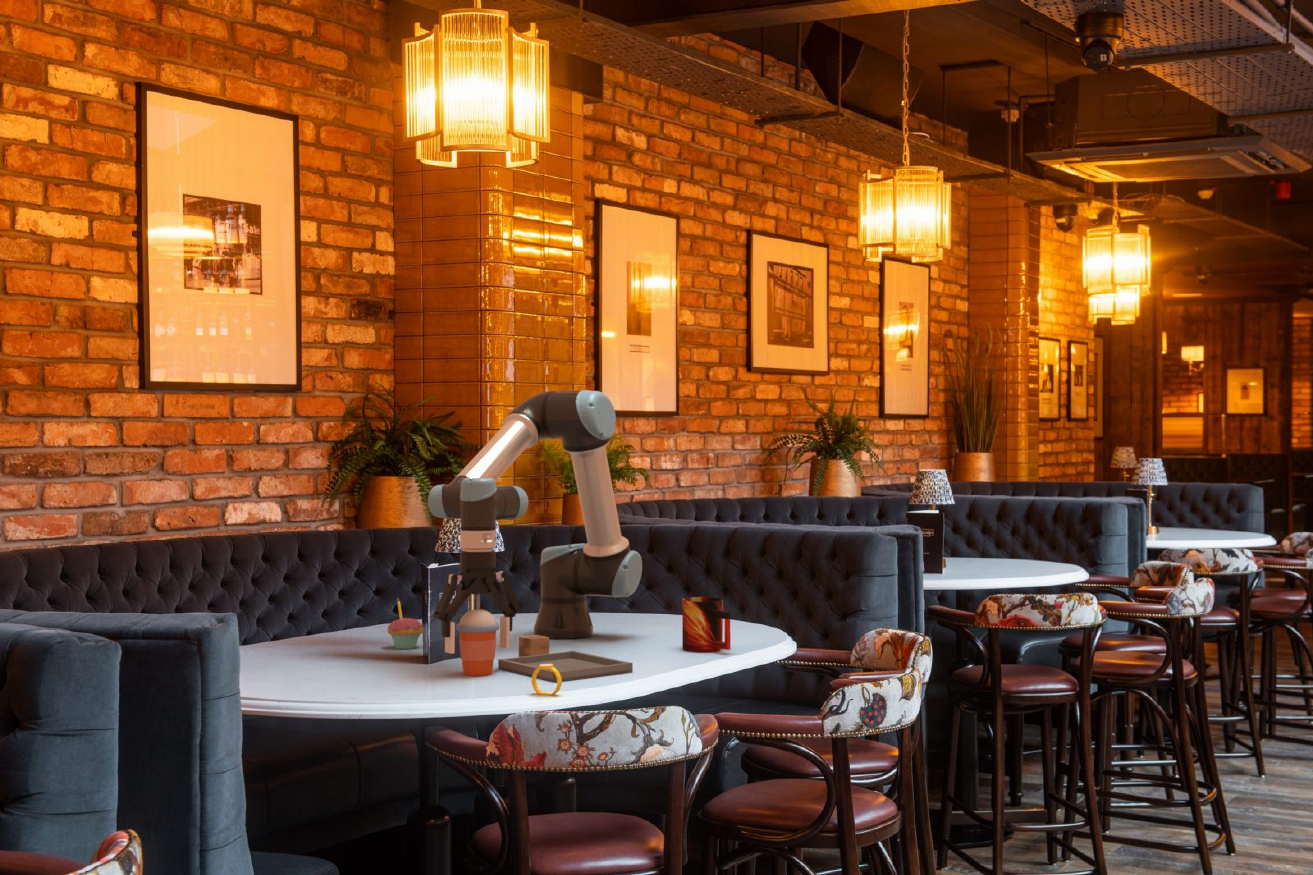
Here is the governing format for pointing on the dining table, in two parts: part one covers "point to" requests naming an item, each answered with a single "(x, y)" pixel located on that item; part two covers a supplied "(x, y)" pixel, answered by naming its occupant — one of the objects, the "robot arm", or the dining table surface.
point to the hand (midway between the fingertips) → (477, 650)
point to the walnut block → (533, 645)
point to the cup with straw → (477, 641)
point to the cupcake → (405, 631)
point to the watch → (557, 674)
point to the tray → (566, 665)
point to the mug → (704, 625)
